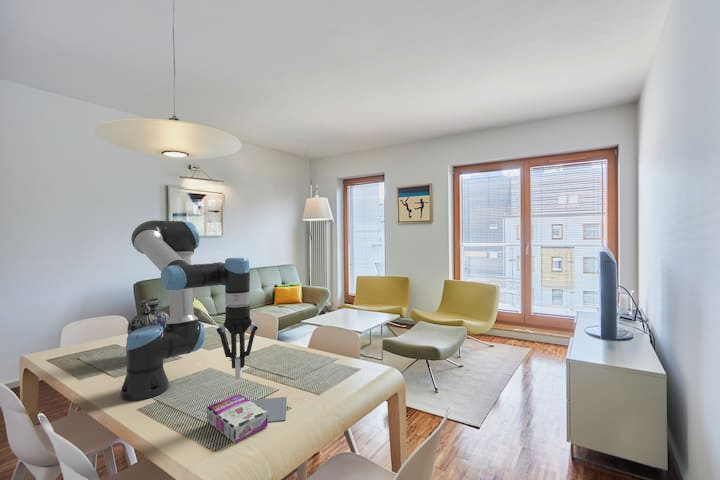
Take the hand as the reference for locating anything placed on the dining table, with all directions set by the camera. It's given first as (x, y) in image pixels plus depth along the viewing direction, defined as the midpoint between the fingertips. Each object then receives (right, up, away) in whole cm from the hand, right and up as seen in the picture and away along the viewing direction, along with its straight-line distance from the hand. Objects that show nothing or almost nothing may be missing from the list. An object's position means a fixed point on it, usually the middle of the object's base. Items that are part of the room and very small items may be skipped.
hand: (238, 377), depth 111 cm
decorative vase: (-62, -12, +55) cm, 84 cm away
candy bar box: (-4, -9, -2) cm, 10 cm away
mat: (+6, -12, +1) cm, 13 cm away
